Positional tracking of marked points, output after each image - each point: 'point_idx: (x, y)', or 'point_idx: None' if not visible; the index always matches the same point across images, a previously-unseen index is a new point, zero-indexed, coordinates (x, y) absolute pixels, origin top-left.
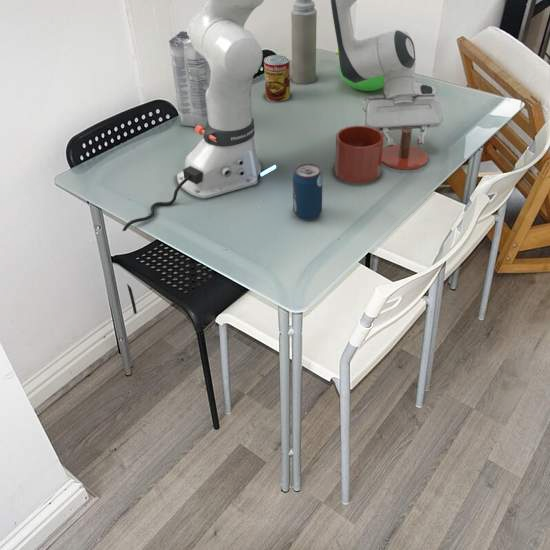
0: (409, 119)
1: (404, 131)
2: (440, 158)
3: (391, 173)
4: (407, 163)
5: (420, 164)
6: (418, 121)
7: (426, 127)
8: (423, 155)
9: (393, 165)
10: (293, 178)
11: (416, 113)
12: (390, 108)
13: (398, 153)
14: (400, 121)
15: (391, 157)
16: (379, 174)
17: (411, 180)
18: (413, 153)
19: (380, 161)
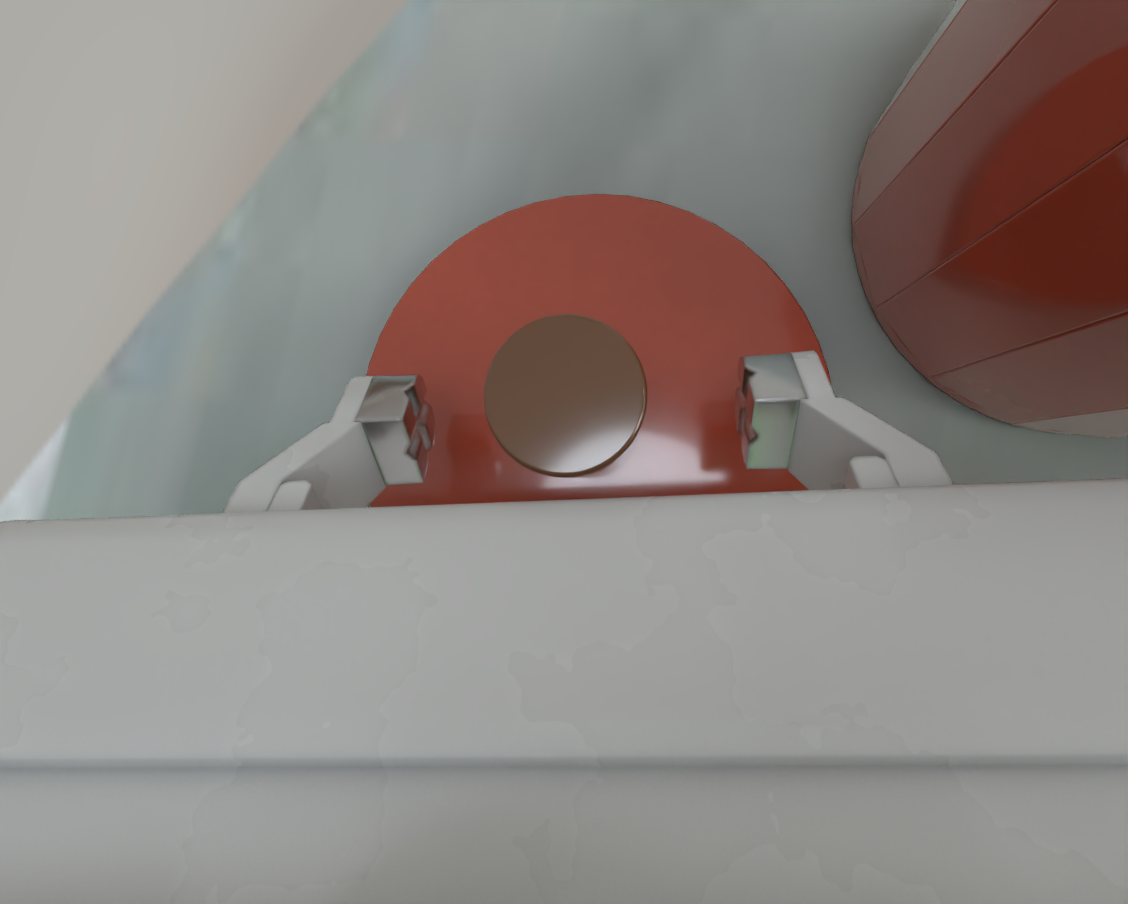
0: (475, 575)
1: (611, 351)
2: (258, 430)
3: (745, 195)
4: (582, 276)
5: (464, 251)
6: (322, 539)
7: (238, 503)
8: None
9: (725, 248)
10: None
11: (293, 683)
12: (930, 876)
13: (634, 480)
14: (659, 541)
15: (719, 405)
16: (884, 112)
17: (588, 72)
18: (486, 465)
19: (958, 6)
